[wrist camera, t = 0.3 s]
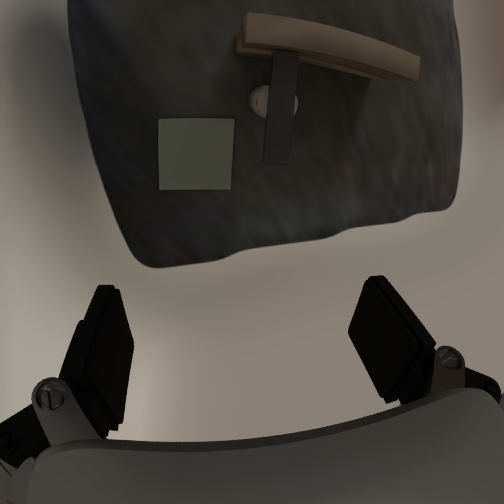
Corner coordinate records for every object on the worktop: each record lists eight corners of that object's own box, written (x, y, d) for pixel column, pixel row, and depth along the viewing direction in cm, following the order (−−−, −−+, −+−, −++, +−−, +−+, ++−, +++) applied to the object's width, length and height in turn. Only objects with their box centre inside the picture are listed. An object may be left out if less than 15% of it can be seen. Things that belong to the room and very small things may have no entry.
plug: (249, 83, 30) (259, 82, 24) (282, 86, 30) (299, 86, 25) (247, 115, 32) (256, 120, 26) (279, 117, 32) (295, 124, 27)
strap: (271, 51, 22) (274, 50, 21) (296, 55, 22) (299, 54, 21) (261, 161, 28) (263, 163, 27) (285, 162, 28) (287, 165, 27)
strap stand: (236, 33, 26) (248, 12, 18) (373, 59, 29) (419, 57, 21) (234, 55, 28) (245, 41, 19) (371, 78, 31) (417, 81, 22)
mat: (159, 119, 30) (158, 119, 30) (234, 118, 32) (234, 119, 31) (160, 188, 35) (159, 190, 35) (230, 187, 36) (230, 189, 36)
